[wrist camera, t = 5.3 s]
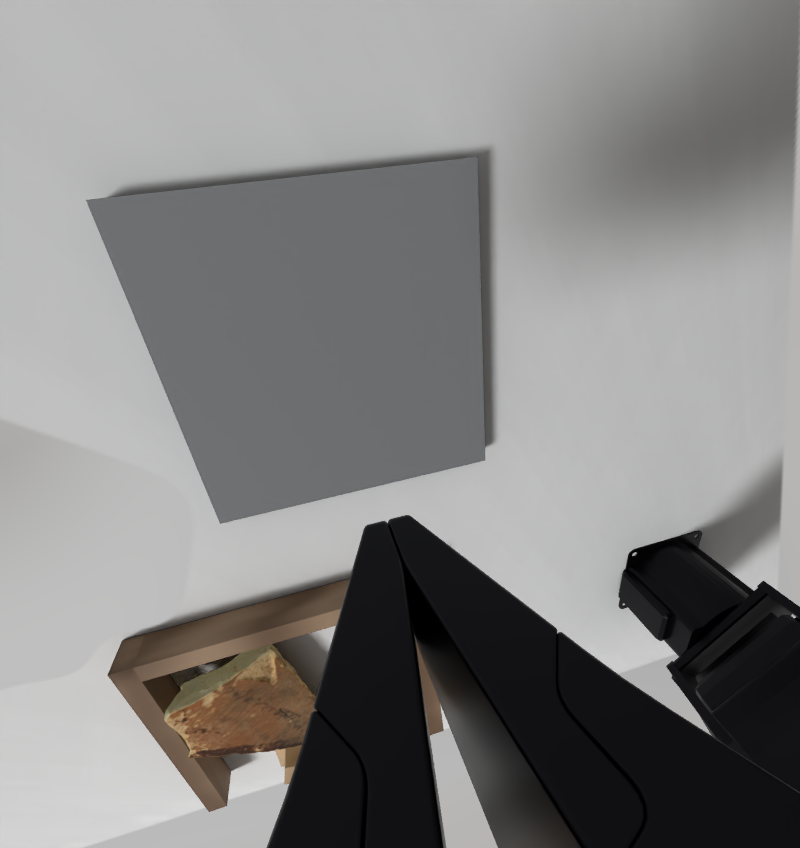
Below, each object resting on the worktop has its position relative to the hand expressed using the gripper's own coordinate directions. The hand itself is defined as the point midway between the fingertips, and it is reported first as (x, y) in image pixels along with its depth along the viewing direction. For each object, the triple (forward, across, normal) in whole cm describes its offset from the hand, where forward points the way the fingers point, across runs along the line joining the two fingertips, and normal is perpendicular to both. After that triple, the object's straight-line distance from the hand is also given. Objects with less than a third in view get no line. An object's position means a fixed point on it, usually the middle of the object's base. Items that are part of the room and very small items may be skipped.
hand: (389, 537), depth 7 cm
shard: (+14, +4, +22) cm, 27 cm away
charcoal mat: (+13, 0, 0) cm, 13 cm away
